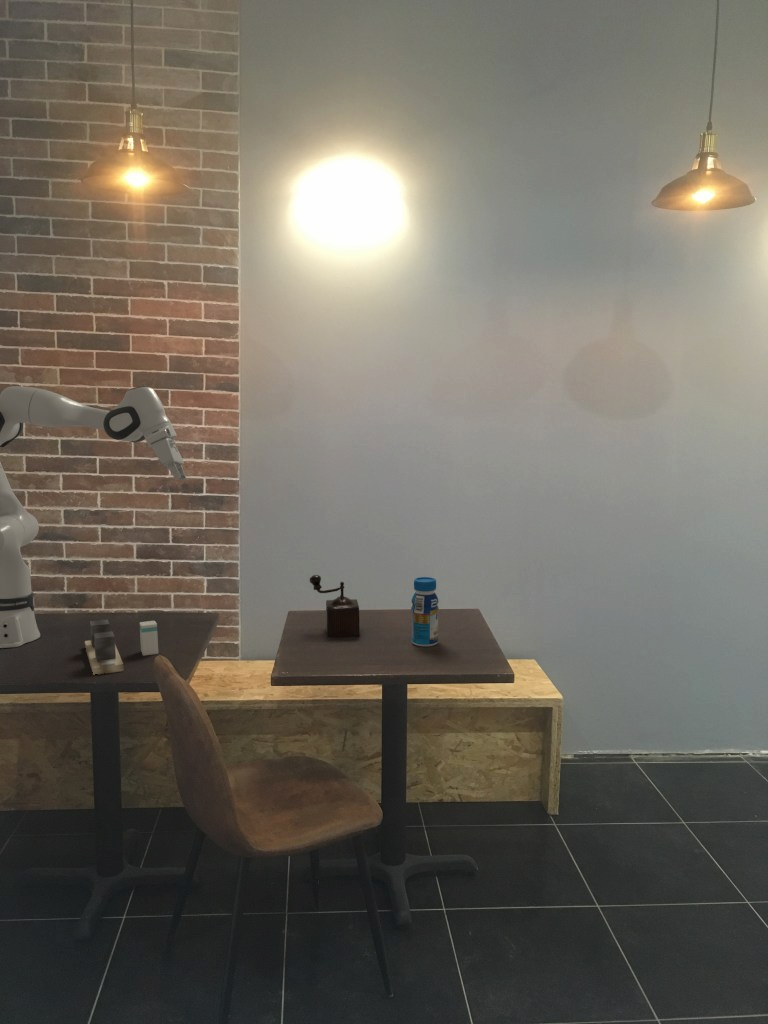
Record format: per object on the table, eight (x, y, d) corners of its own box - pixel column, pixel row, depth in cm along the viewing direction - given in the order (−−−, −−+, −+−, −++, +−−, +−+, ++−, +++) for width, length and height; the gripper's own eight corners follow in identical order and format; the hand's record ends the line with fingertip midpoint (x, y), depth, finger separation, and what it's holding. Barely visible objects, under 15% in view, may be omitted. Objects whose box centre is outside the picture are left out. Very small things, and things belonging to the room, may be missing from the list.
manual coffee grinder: (357, 626, 270) (357, 572, 267) (360, 636, 259) (359, 580, 256) (310, 627, 268) (309, 573, 265) (310, 638, 257) (309, 582, 254)
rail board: (93, 675, 225) (91, 643, 224) (85, 647, 248) (83, 618, 247) (123, 670, 228) (121, 639, 227) (112, 643, 252) (111, 615, 250)
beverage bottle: (406, 640, 255) (407, 577, 251) (432, 637, 257) (432, 575, 254) (416, 648, 247) (417, 583, 244) (442, 645, 249) (443, 581, 246)
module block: (143, 655, 241) (141, 625, 240) (141, 651, 245) (139, 622, 243) (158, 653, 243) (157, 624, 241) (156, 649, 246) (154, 620, 245)
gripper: (157, 443, 255) (176, 484, 256) (144, 438, 235) (165, 482, 235) (176, 435, 256) (195, 476, 256) (164, 429, 235) (185, 473, 236)
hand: (180, 479), depth 246 cm, fingers open, 8 cm apart
